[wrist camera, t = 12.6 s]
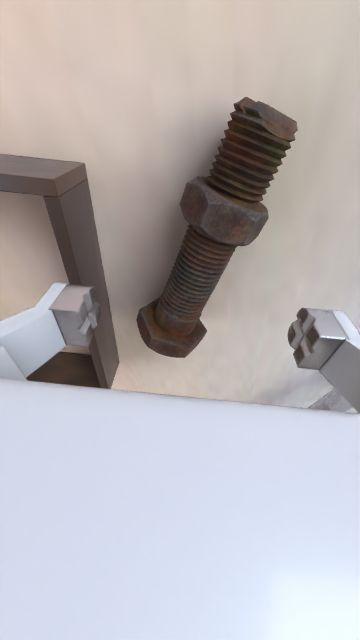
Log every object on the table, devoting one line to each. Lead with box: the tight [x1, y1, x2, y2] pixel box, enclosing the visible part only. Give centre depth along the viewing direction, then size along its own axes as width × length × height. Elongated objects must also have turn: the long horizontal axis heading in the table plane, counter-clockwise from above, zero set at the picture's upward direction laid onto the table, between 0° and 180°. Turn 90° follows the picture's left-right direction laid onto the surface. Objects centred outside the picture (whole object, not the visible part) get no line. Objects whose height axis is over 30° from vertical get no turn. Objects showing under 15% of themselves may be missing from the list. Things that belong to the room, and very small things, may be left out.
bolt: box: [137, 97, 298, 358], centre depth 15 cm, size 6×5×15 cm
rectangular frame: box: [0, 154, 119, 389], centre depth 20 cm, size 17×20×4 cm
